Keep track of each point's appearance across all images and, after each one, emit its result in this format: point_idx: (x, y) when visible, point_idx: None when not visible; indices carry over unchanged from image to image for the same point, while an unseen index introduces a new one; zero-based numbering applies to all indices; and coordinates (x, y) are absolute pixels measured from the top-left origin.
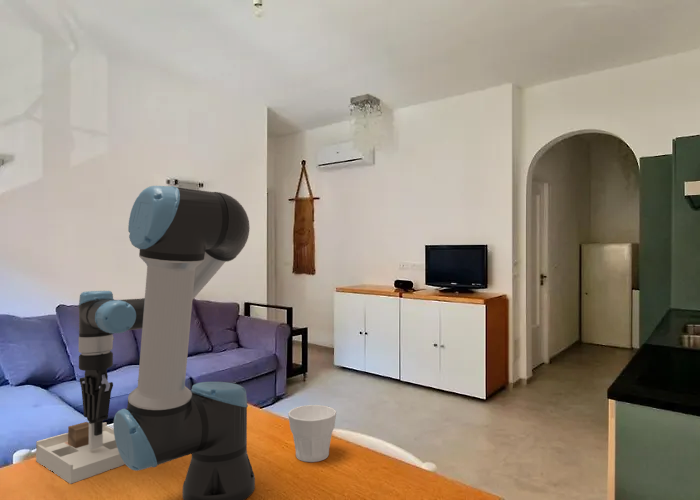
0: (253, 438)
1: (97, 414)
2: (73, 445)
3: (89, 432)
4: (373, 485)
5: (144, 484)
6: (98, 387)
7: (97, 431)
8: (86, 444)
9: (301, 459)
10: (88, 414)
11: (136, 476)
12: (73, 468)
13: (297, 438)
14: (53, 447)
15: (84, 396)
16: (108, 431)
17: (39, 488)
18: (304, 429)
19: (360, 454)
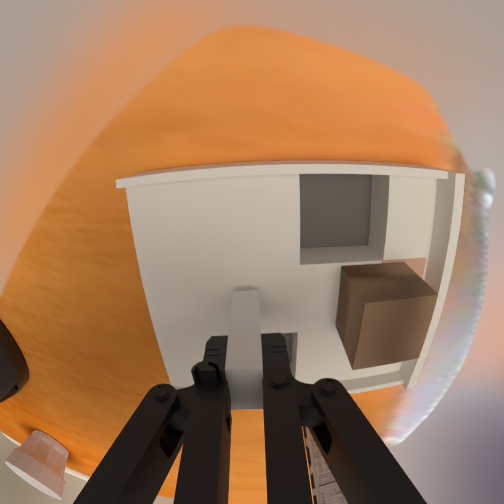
0: None
1: (143, 417)
2: (361, 267)
3: (251, 331)
4: None
5: (40, 297)
6: None
7: (205, 353)
8: (338, 302)
9: (39, 431)
10: (278, 402)
11: (81, 307)
12: (133, 189)
13: (28, 449)
14: (417, 215)
15: (371, 490)
16: (378, 376)
17: (185, 94)
18: (12, 454)
19: None
